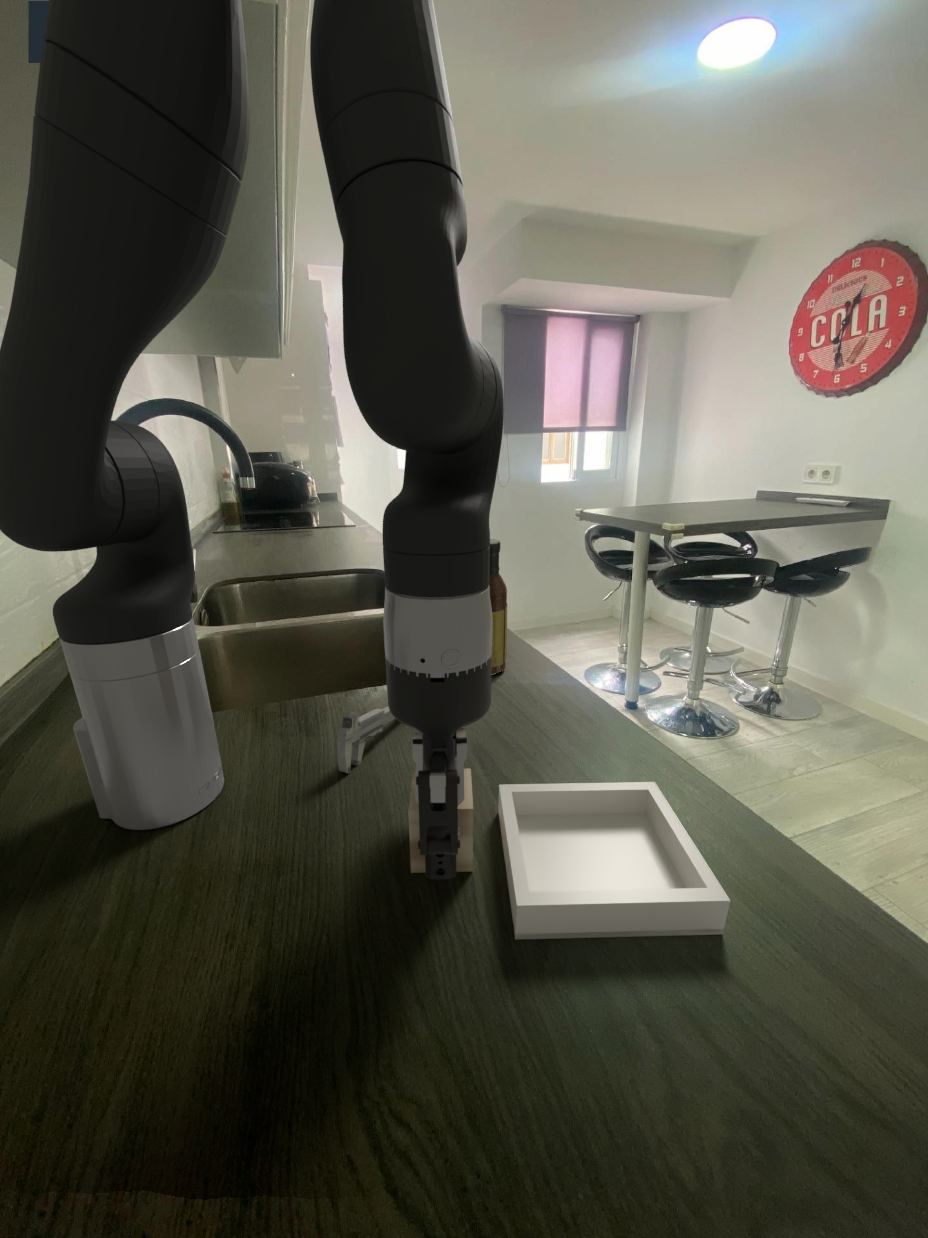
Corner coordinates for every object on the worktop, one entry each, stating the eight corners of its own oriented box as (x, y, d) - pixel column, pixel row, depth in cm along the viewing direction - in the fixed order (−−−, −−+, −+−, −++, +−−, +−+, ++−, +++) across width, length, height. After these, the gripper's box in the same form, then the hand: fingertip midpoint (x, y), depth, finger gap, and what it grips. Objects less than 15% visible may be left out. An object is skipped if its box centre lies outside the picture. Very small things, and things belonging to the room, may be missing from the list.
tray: (515, 939, 31) (516, 905, 30) (498, 812, 43) (499, 784, 42) (722, 934, 32) (730, 900, 31) (650, 809, 43) (654, 782, 42)
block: (410, 873, 36) (408, 808, 34) (415, 827, 41) (413, 767, 39) (472, 872, 36) (473, 807, 35) (470, 826, 41) (470, 767, 39)
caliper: (348, 778, 48) (343, 724, 46) (339, 775, 48) (333, 721, 46) (437, 692, 65) (436, 651, 63) (430, 691, 66) (429, 649, 64)
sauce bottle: (480, 657, 76) (481, 535, 70) (513, 667, 73) (518, 539, 66) (456, 671, 71) (455, 540, 65) (491, 682, 68) (494, 545, 61)
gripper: (396, 616, 40) (404, 777, 45) (368, 695, 26) (384, 913, 31) (485, 615, 40) (482, 775, 45) (502, 693, 26) (496, 910, 31)
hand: (442, 831), depth 38 cm, fingers open, 8 cm apart
